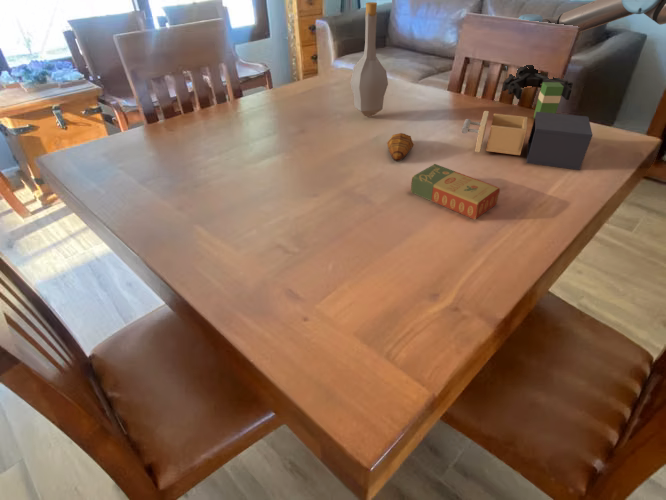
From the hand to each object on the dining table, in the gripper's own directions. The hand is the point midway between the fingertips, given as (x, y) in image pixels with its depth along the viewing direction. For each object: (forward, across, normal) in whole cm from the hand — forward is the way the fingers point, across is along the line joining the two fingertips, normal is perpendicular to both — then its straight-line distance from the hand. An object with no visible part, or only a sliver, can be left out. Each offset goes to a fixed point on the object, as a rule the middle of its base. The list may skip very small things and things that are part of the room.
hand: (544, 94), depth 124 cm
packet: (+4, 0, -6) cm, 7 cm away
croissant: (+28, +42, -6) cm, 51 cm away
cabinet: (+29, +4, -6) cm, 30 cm away
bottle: (+4, +51, -6) cm, 51 cm away
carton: (+51, +31, -6) cm, 60 cm away
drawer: (+25, +19, -5) cm, 32 cm away
